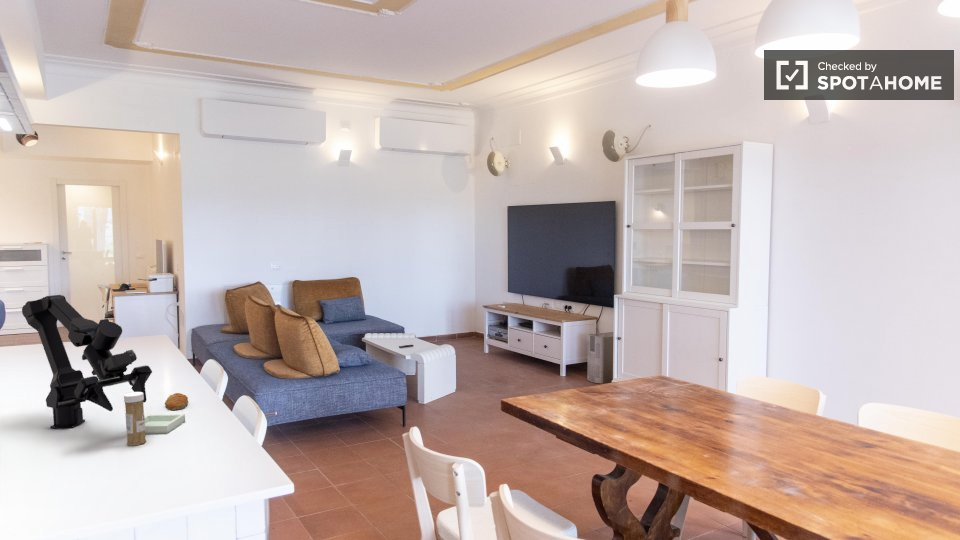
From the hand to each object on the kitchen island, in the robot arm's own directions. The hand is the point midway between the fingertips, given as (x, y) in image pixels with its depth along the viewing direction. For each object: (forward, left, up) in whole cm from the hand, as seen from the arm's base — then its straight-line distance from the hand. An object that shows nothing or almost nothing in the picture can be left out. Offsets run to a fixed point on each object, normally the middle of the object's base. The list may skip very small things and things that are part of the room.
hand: (128, 405), depth 172 cm
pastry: (-3, +34, -10) cm, 36 cm away
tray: (+1, +12, -10) cm, 15 cm away
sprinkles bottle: (+2, -1, -10) cm, 10 cm away
